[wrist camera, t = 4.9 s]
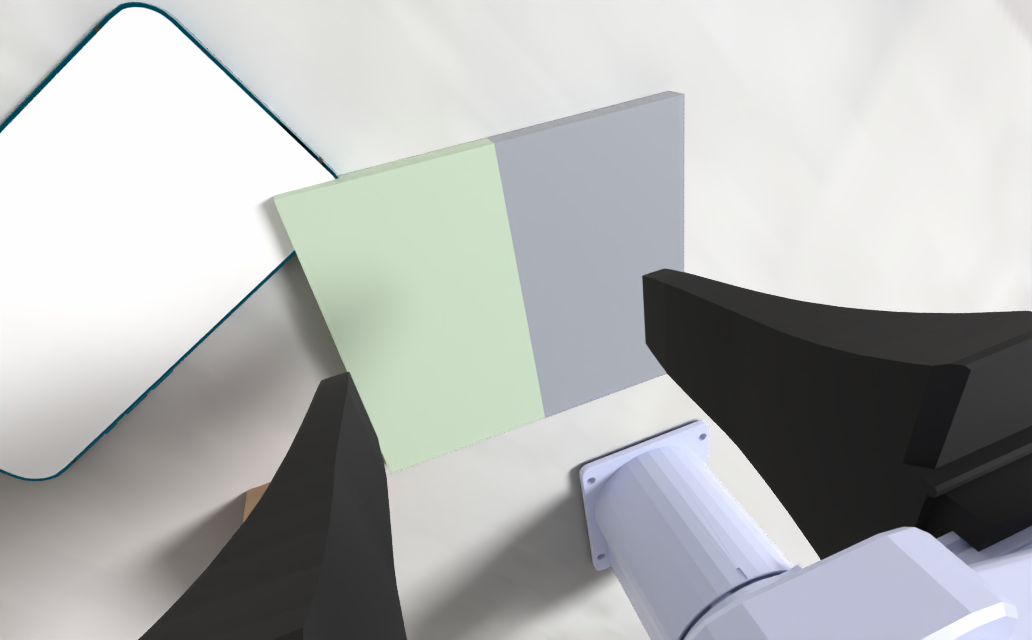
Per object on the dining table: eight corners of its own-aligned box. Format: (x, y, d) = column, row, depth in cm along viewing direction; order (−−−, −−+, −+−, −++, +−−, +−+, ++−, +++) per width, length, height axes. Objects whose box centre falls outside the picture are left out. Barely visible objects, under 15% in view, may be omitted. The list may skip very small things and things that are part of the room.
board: (672, 356, 28) (683, 367, 27) (388, 458, 25) (391, 474, 24) (669, 91, 21) (684, 94, 20) (275, 191, 18) (273, 200, 17)
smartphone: (143, -17, 15) (-222, 361, 16) (134, -19, 14) (-248, 377, 15) (357, 189, 19) (57, 473, 21) (359, 196, 19) (48, 490, 20)
